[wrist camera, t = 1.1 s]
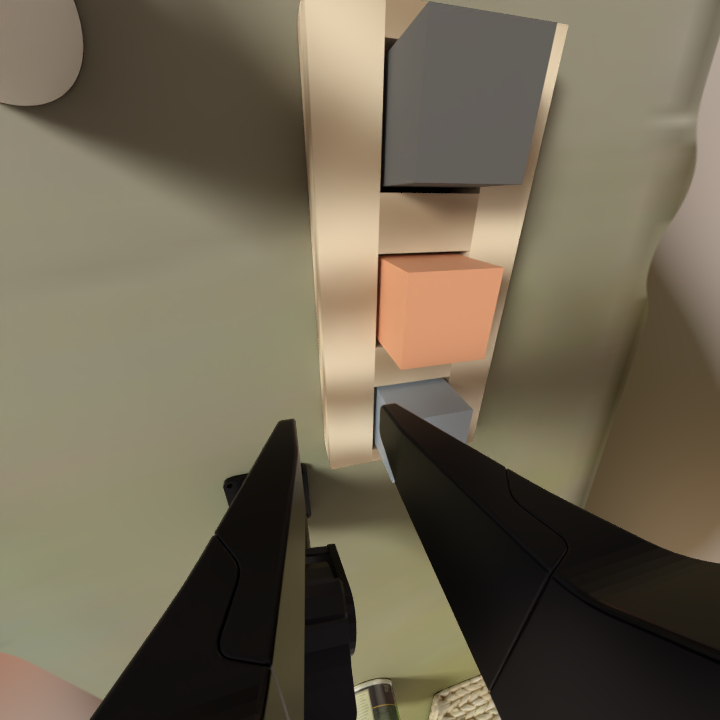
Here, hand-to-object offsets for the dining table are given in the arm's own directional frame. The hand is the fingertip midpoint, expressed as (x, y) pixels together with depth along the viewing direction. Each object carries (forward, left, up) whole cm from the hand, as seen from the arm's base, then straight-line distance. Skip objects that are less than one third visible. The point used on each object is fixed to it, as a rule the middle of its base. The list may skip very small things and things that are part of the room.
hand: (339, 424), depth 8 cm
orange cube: (0, -7, -12) cm, 13 cm away
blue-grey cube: (-8, -7, -12) cm, 16 cm away
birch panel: (0, -7, -13) cm, 15 cm away
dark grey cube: (+9, -7, -12) cm, 16 cm away
